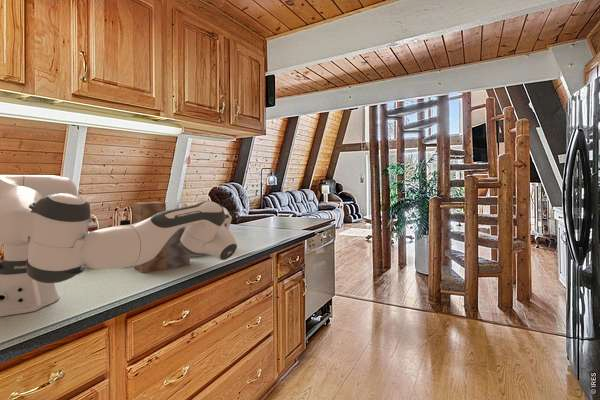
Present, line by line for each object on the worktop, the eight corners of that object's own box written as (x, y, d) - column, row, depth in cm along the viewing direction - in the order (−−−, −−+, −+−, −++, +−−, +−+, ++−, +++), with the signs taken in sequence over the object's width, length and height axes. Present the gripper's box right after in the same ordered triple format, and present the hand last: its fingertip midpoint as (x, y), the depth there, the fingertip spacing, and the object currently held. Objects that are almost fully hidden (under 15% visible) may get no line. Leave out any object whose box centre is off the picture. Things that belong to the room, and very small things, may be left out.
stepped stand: (142, 273, 136) (140, 203, 134) (134, 268, 143) (132, 202, 142) (189, 264, 149) (188, 201, 148) (180, 260, 157) (179, 200, 155)
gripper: (180, 235, 118) (167, 213, 127) (231, 229, 132) (216, 210, 140) (184, 220, 115) (170, 198, 124) (235, 216, 129) (220, 197, 138)
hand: (195, 204), depth 132 cm, fingers open, 8 cm apart
